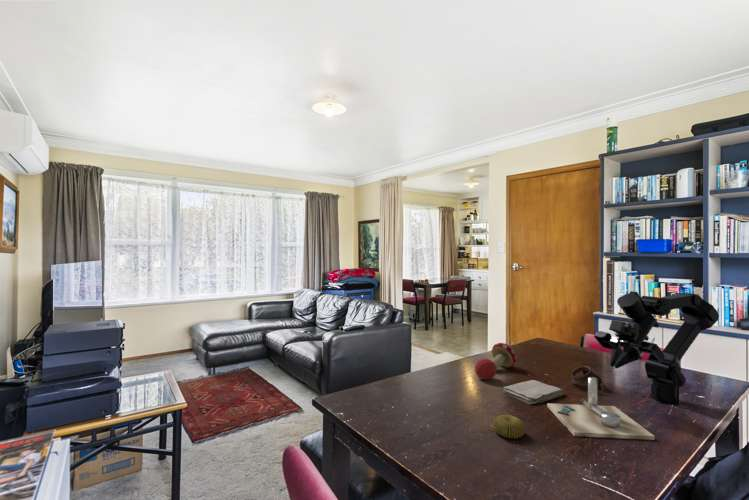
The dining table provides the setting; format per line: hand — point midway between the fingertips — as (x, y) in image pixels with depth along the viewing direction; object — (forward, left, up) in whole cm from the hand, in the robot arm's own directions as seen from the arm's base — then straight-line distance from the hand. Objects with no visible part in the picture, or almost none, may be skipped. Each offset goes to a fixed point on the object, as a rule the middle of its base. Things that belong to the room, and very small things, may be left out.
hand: (613, 366), depth 110 cm
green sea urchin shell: (+36, +17, -14) cm, 42 cm away
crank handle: (+8, +7, -12) cm, 16 cm away
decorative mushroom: (+25, -38, -14) cm, 47 cm away
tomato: (+33, -24, -14) cm, 43 cm away
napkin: (+9, +8, -14) cm, 18 cm away
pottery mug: (-3, -21, -14) cm, 25 cm away
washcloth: (+20, -11, -14) cm, 27 cm away
